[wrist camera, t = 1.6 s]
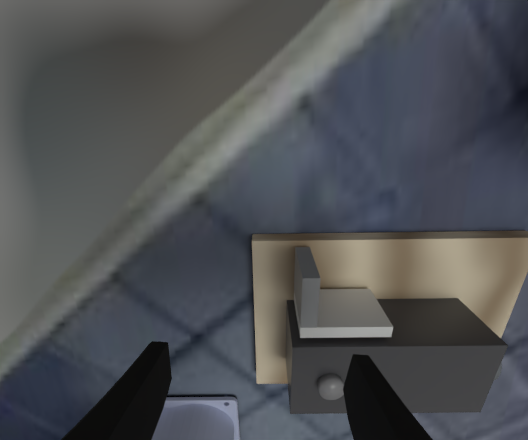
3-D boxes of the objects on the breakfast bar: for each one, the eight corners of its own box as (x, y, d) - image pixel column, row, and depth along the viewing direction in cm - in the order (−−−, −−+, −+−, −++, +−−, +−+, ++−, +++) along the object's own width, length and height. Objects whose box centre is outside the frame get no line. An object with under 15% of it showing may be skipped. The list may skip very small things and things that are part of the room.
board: (257, 371, 25) (256, 383, 24) (252, 234, 20) (251, 241, 19) (473, 369, 25) (483, 381, 24) (525, 230, 20) (541, 237, 18)
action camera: (285, 358, 23) (291, 423, 18) (286, 299, 20) (293, 355, 16) (449, 356, 22) (499, 421, 18) (468, 297, 20) (530, 353, 16)
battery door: (293, 298, 20) (299, 338, 16) (295, 247, 18) (302, 278, 15) (368, 297, 20) (391, 337, 16) (376, 246, 18) (403, 277, 15)
